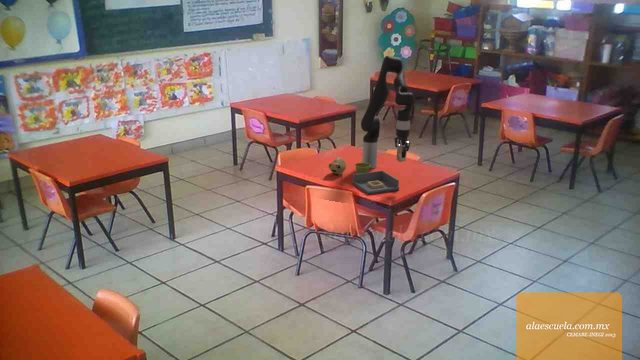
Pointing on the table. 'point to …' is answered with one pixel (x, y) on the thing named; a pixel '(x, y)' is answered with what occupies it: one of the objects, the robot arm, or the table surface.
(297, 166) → the table surface
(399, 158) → the connector
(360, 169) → the plant pot
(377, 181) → the walled box
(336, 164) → the toy pig
